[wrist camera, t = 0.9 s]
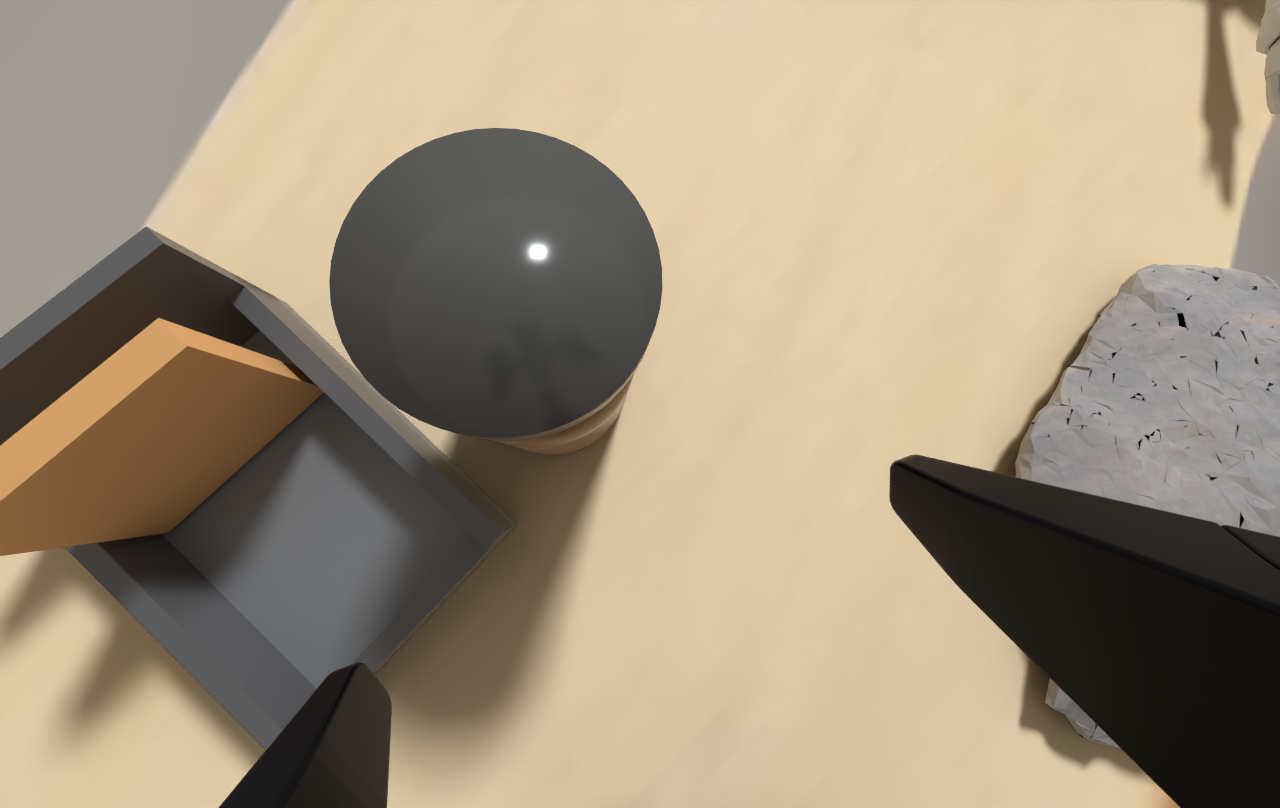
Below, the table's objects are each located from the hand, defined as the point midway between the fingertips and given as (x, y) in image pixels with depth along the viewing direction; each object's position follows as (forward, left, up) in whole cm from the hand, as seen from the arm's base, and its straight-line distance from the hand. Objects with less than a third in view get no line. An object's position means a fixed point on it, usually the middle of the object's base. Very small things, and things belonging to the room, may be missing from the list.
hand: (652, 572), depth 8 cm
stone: (-5, -26, -15) cm, 31 cm away
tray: (+3, +13, -14) cm, 20 cm away
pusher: (+6, +15, -13) cm, 21 cm away
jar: (+7, +2, -14) cm, 16 cm away
